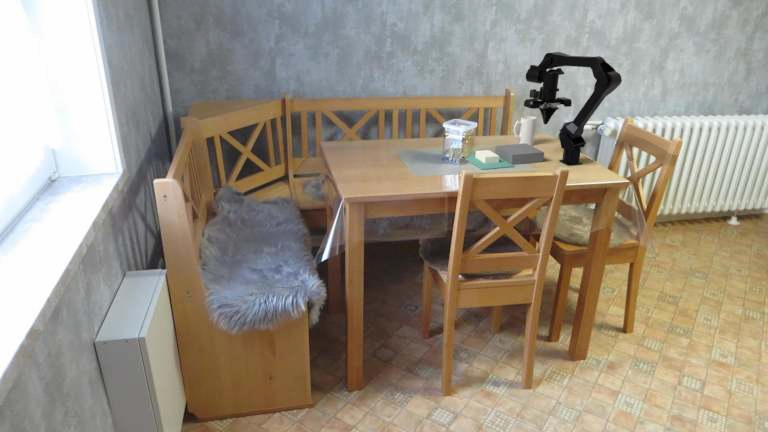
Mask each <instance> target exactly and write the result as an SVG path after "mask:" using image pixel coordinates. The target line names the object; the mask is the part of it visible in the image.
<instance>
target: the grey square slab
mask: <svg viewBox="0 0 768 432" xmlns="http://www.w3.org/2000/svg"><path fill="white" fill-rule="evenodd" d="M494 153H495V154H497V155H498V156H499V157H500V158H501V159H503V160H505V161H507V162H508V163H510V164H512V165H514V166H515V165H523V164H535V163H543V162H544V155H545V151H543V150H540V149H538V148H536V147H534V146H533V145H532V146H530V145H528V144H526V143H524V144H519V143H516V144H515V143H513V144H503V145H502V144H501V145H500V144H499V145H495V150H494Z"/></svg>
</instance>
